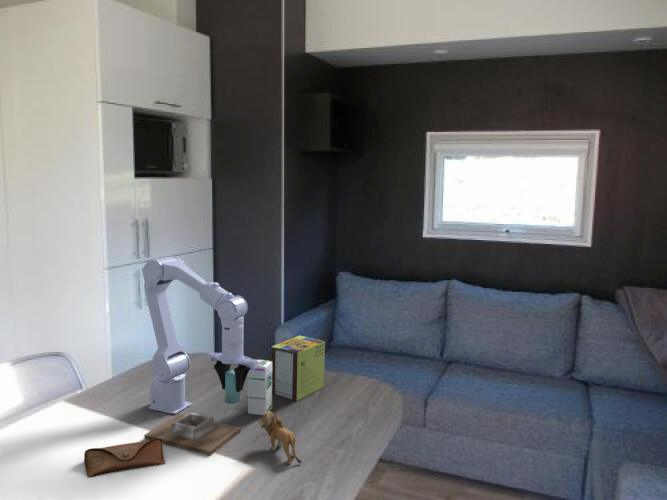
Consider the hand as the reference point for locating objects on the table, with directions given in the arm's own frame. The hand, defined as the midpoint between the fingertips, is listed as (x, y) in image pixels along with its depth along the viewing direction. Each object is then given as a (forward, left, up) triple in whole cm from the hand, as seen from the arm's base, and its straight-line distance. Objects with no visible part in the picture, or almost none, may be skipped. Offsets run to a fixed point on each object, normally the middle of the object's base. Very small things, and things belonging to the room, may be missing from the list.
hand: (232, 389), depth 155 cm
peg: (0, 0, -3) cm, 3 cm away
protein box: (+6, +29, -10) cm, 31 cm away
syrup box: (+3, +10, -10) cm, 14 cm away
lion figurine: (+20, -10, -10) cm, 24 cm away
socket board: (-5, -11, -10) cm, 15 cm away
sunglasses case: (-11, -29, -10) cm, 33 cm away
